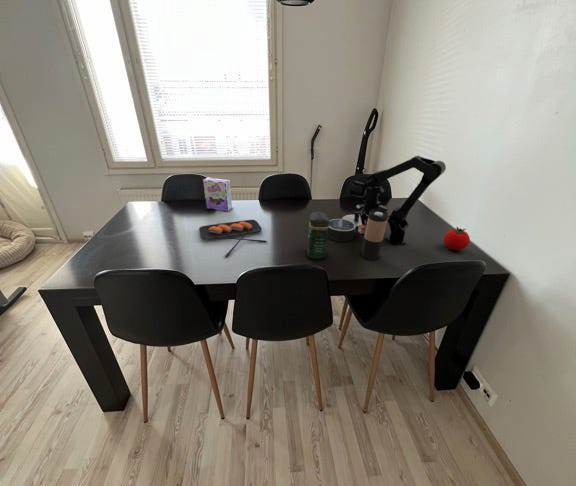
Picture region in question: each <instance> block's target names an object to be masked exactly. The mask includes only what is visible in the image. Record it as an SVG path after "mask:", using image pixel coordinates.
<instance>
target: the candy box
mask: <svg viewBox="0 0 576 486" xmlns="http://www.w3.org/2000/svg"><path fill="white" fill-rule="evenodd" d="M202 185H203V192H204V200H205V207H206V209H210V210H214V211H219V212H230V211H231V210H232V209H233V202H232V201H233V200H232V187H231V180H230V179H223V178H215V177H210V176H207V177H205V178H204V179H202Z"/></svg>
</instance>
